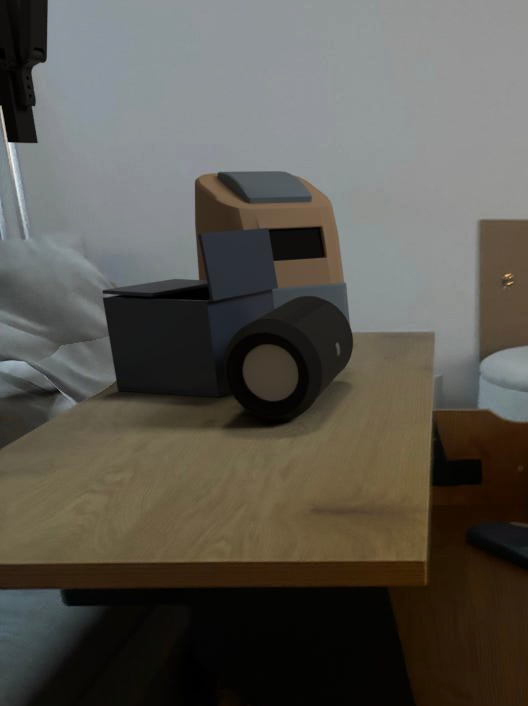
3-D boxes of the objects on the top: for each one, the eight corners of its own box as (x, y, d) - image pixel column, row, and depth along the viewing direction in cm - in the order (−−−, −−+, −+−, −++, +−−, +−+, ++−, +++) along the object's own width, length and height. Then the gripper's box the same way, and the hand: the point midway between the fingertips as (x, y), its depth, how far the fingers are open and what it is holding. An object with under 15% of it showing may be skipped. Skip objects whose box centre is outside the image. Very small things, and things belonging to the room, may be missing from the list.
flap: (102, 293, 111) (101, 290, 111) (175, 282, 123) (174, 278, 122) (152, 296, 109) (152, 292, 109) (222, 284, 121) (221, 281, 120)
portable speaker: (321, 427, 98) (313, 322, 93) (222, 427, 98) (210, 322, 94) (358, 379, 121) (353, 293, 116) (278, 379, 121) (270, 293, 117)
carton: (117, 390, 116) (91, 233, 108) (187, 370, 127) (167, 227, 120) (225, 398, 111) (205, 234, 104) (286, 376, 123) (272, 227, 115)
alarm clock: (251, 371, 126) (229, 171, 116) (197, 355, 138) (173, 172, 128) (362, 356, 135) (350, 170, 125) (302, 343, 147) (287, 171, 137)
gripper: (-113, -145, 91) (-56, 141, 101) (2, -157, 87) (49, 141, 97) (-50, -124, 97) (-2, 143, 107) (59, -134, 93) (98, 144, 104)
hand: (22, 142), depth 102 cm, fingers closed
